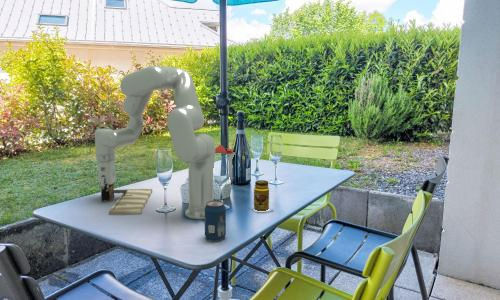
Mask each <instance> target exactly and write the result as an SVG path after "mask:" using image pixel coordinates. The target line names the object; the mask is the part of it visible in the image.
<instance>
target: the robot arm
mask: <svg viewBox="0 0 500 300" xmlns="http://www.w3.org/2000/svg"><path fill="white" fill-rule="evenodd" d="M119 86H120V87H119V88H120V91H121V93H122V94H123V95H124V96H126V97H125V99H124V100H123V102H122V105H121V109H122V110H123V112H124V113H125V114H126V115H128V116H129V120H128V123H127V124H126V127H124V128H118V129H112V128H97V129H95V131H94V143H95V144H94V145H95V161H96V162H97V163H98V183H99V184H98V185H100V194H101V196H100V197H101V201H102V200H109V199H110V197H109V191H108V187H109V185H114V182H115V181H116V180H117V175H116V165H115V161H116V152H115V150H116V149H119V148H122V147H128V146H131V145H133V144H135V143H136V142H137V140H138V139H139V137H140V135H141V134H142V131H143V129H144V117H143V114H144V112H145V110H146V107H147V106H148V104H149V101H150V100H151V98H152V95H153V93H154V91H157V90H160V91H161V90H174V91H173V98H174V103H175V106H176V107H174V108H173V109H172V110H171V111H169V113H168V116H167V119H166V121H167V122H166V123H167V125H166V126H167V129H168V132H169V135H170V139H171V142H172V145H173V149H174V152H175V154H176V156H177V158H178V159H179V160H180V161H181V162H183V163H185V164H188V175H187V176H188V208H187V209H186V210H185V212H184V213H185V215H184V216H186V217H187V218H189V219H193V220H205V207H206V203H207V202H209V201H215V200H214V191H215V190H214V185H213V168H214V157H215V148H216V143H215V139H214V138H213V137H212V136H211V135H209V134H207V133H197V134H195V132H196V131H199V130H200V129H203V127H204V124H205V117H204V114H203V111H202V107H201V104H200V101H199V98H198V95H197V92H196V88H195V84H194V80H193V77H192V76H191V74H190V73H189V72H188V71H187V70H185V69H183V68H181V67H174V66H161V65H152V66H151V65H150V66H147V67H144V68H141V69H139V70H136V71H133V72H130V73H128V74H126V75H124V76H123V77H122V79H121V80H120V84H119ZM106 186H107V187H106Z"/></svg>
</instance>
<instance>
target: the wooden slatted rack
mask: <svg viewBox="0 0 500 300" xmlns="http://www.w3.org/2000/svg"><path fill="white" fill-rule="evenodd" d="M125 190H127V193H125V195H124V193H121V195H120V196H119V198H117V200H115V202H114V204H113V205H112V206H111V208H110V209H109V210H108V215H109V216H115V215H116V216H118V215H120V216H121V215H142V212H143V211H144V209H145V207H146V205H147V203H148V201H149V199H150V197H151V196H152V193H153V188H131V189H130V188H126V189H125Z"/></svg>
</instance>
